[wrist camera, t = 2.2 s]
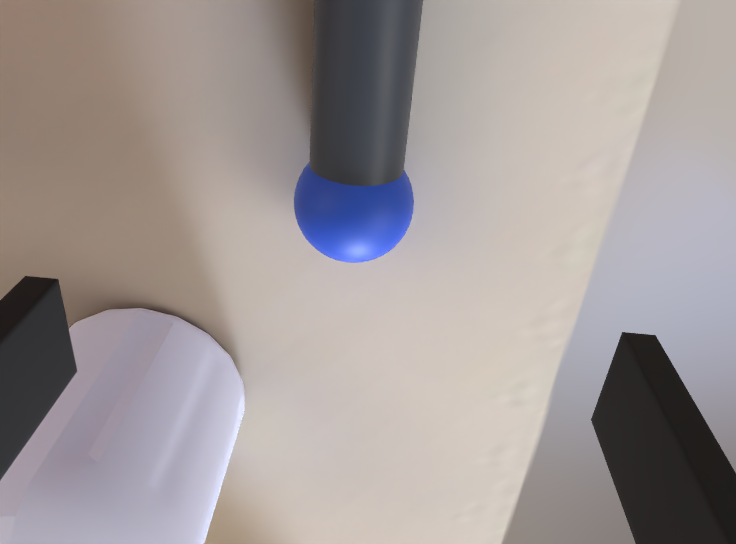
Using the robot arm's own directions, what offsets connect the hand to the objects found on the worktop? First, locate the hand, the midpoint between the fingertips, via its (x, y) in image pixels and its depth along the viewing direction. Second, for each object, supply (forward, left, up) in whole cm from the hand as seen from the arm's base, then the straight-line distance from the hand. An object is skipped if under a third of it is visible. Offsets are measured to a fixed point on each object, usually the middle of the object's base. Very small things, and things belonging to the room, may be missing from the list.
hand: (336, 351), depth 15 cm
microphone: (-5, 0, -10) cm, 12 cm away
